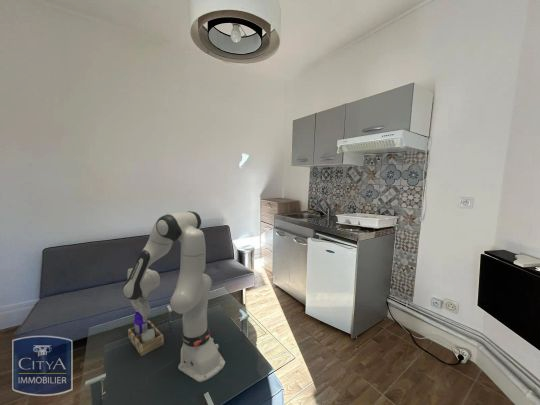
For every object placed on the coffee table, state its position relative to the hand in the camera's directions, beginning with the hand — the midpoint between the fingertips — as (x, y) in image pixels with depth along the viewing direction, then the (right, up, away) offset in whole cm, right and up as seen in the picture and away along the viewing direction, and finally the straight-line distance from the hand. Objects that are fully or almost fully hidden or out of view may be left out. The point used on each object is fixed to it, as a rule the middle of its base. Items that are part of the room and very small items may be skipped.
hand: (141, 318), depth 126 cm
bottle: (-1, -11, +1) cm, 11 cm away
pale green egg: (+7, -12, -5) cm, 14 cm away
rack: (+3, -12, -2) cm, 13 cm away
